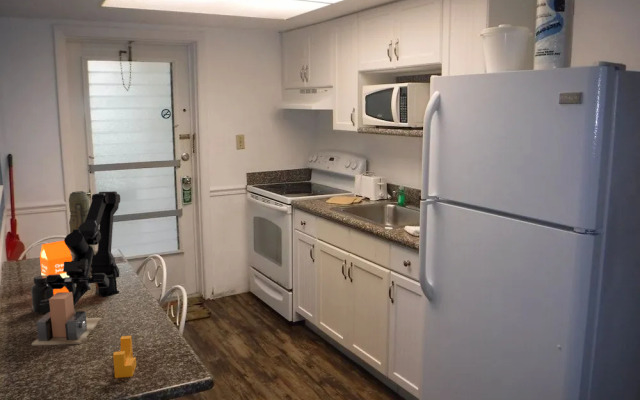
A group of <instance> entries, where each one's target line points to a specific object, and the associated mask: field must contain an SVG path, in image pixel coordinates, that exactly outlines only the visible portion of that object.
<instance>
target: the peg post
mask: <svg viewBox="0 0 640 400" xmlns="http://www.w3.org/2000/svg"><path fill="white" fill-rule="evenodd" d="M49 304H50V313H51V323H52V333H53V337H66V328H65V324H66V323H67V320H69V319H70V318H71V317H72V316H73V315H74V314H75V306H74V304H73V294H72V292H58V293H56V294H55V295H54V296H52V297H51V298H50V299H49Z"/></svg>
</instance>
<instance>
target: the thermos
mask: <svg viewBox="0 0 640 400" xmlns="http://www.w3.org/2000/svg"><path fill="white" fill-rule="evenodd" d="M68 207H69V209H68V210H69V212H70V215H69V217H70V218H69V222H68V224H69V234H70V233H72V232H73V229H78V228H79V226H80V225H81V224H83V223H84V222H85V220H86V217H87V214H88V211H89V208H90V199H89V197H88V194H87V192H85V191H73V192H71V193H70V194H69V197H68ZM89 246H91V247H92V248H93V249H94V245H89ZM72 255H73V256H74V254H72ZM91 264H92V262H91ZM88 277H92V274H91V271H89V276H88Z"/></svg>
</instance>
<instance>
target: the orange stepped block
mask: <svg viewBox="0 0 640 400" xmlns="http://www.w3.org/2000/svg"><path fill="white" fill-rule="evenodd" d="M119 340H120V350H119V351H114V352H113V355H112V357H113V369H114V370H113V371H114V379H118V378H130V377H133V376H134V374H135V371H136V367H137V357H135V356H134V353H133V340H132V335H123V336H121V337H120V339H119Z"/></svg>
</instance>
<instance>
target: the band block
mask: <svg viewBox="0 0 640 400" xmlns="http://www.w3.org/2000/svg"><path fill="white" fill-rule="evenodd" d="M86 315H87V314H86V310H78V311H75V312H74V315H73V316H72V317H71V318H70V319H69V320H67V323H66V324H65V328H66V339H67V340H78V339H79V337H80V336H81V335H82V334H83V333H84V332H85V331H86V330H87V323H86V318H87V316H86ZM36 329H37V338H38V340H39V341H50V340H51V339H52V338H53V333H52V323H51V313H50V312H47V313H45V314H44V315H43V316H42V317H41V318H39V320H37V321H36Z"/></svg>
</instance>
